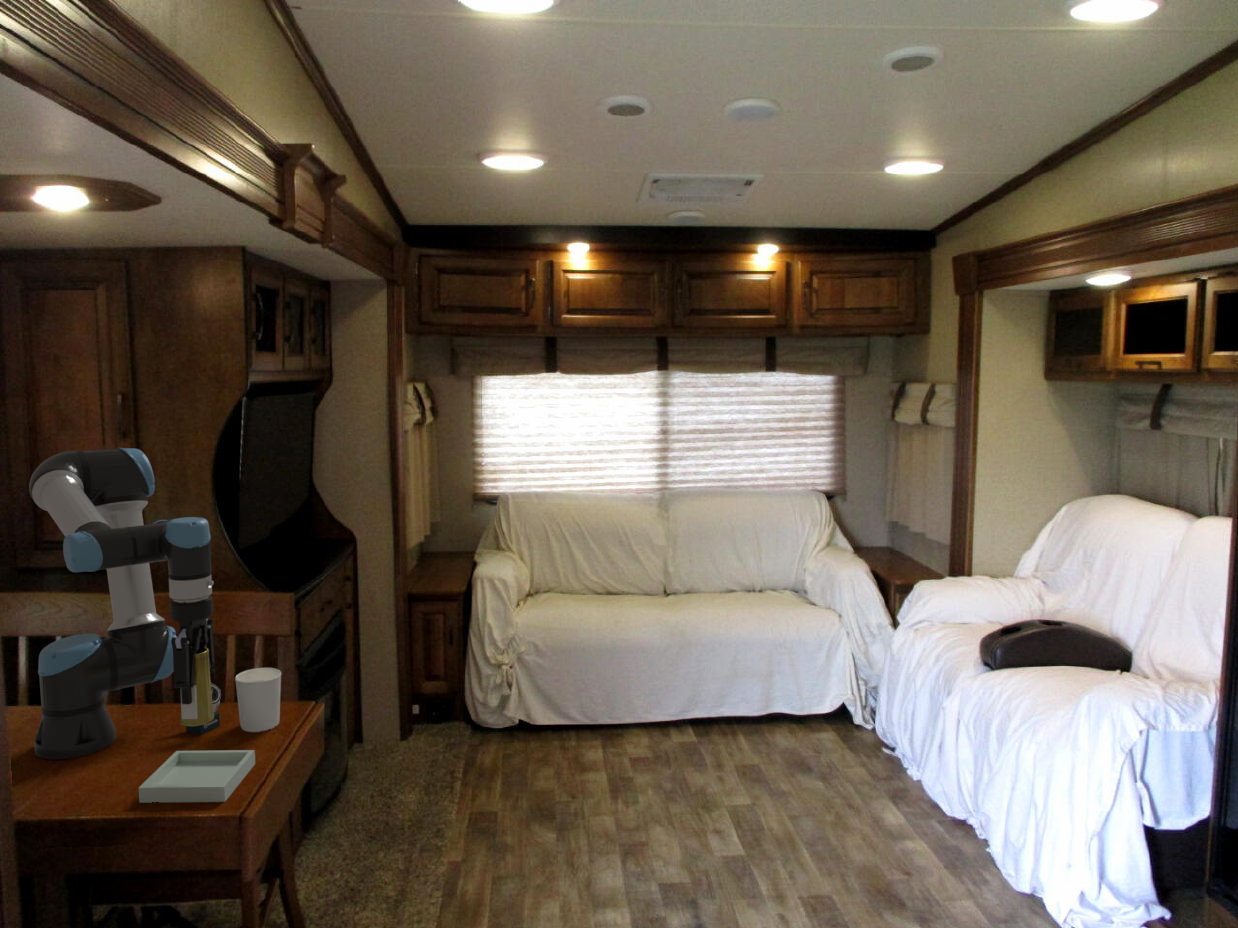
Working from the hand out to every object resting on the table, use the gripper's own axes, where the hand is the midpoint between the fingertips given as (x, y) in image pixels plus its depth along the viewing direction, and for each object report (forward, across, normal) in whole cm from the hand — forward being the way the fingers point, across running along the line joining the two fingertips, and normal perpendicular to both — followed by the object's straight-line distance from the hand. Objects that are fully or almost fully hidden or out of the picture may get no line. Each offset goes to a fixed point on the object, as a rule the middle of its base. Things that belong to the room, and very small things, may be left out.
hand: (196, 711), depth 176 cm
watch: (+15, +26, +10) cm, 32 cm away
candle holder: (+15, +28, -2) cm, 32 cm away
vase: (+2, 0, 0) cm, 2 cm away
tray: (+15, 0, 0) cm, 15 cm away
